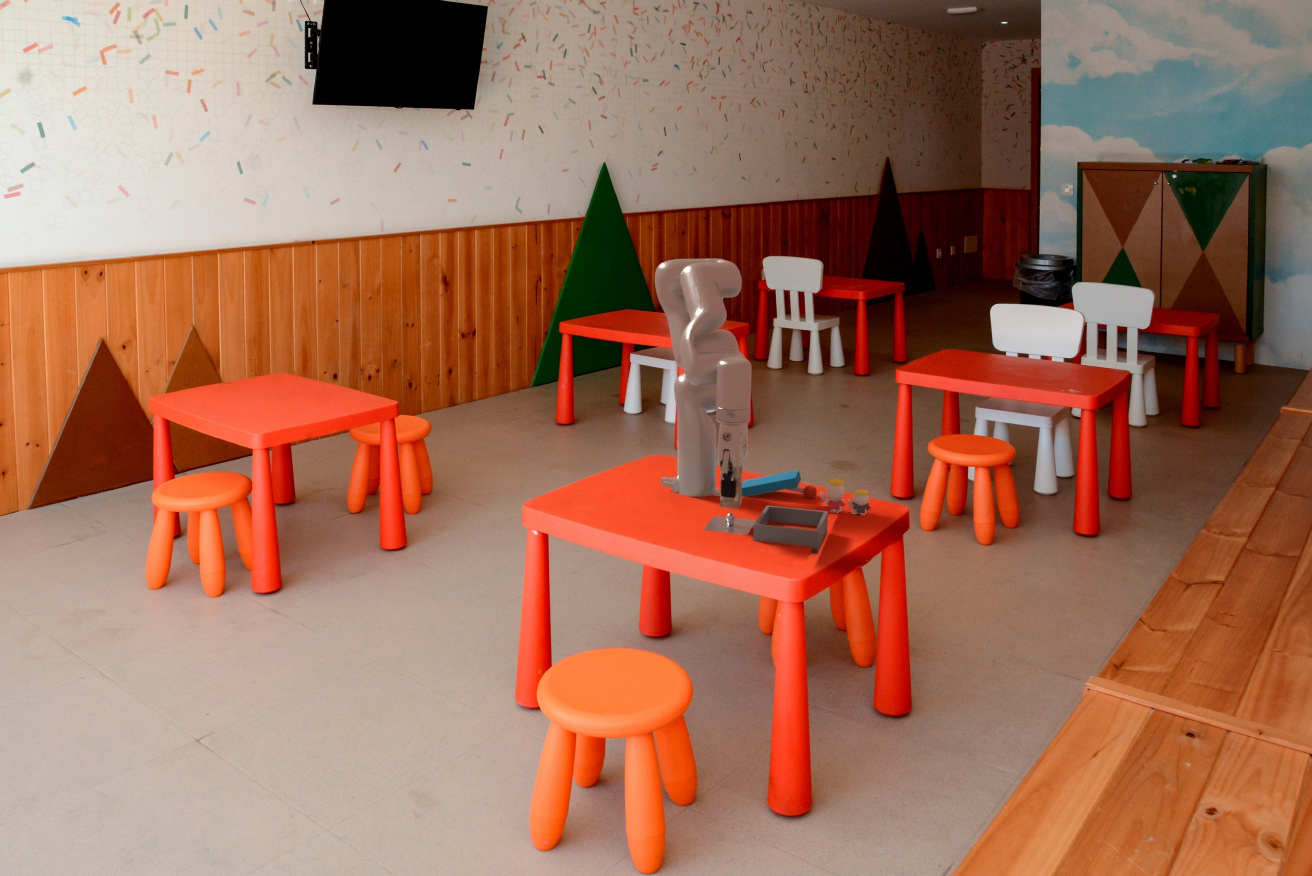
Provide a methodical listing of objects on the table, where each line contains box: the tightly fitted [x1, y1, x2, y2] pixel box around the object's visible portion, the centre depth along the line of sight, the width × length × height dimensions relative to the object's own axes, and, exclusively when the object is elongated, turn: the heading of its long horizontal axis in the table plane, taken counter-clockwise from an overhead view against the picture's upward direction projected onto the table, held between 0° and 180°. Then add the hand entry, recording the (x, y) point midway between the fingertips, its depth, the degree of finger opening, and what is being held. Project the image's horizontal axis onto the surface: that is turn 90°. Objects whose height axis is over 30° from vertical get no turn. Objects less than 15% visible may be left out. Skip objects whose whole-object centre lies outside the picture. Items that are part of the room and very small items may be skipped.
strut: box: [719, 464, 743, 509], centre depth 237 cm, size 4×4×10 cm
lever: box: [742, 469, 818, 500], centre depth 265 cm, size 7×7×18 cm
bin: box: [752, 504, 829, 555], centre depth 234 cm, size 14×14×5 cm
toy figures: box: [819, 478, 871, 515], centre depth 251 cm, size 12×4×8 cm, turn 76°
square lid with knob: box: [703, 512, 757, 536], centre depth 239 cm, size 10×10×4 cm
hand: (730, 492), depth 238 cm, fingers closed on strut, 4 cm apart
